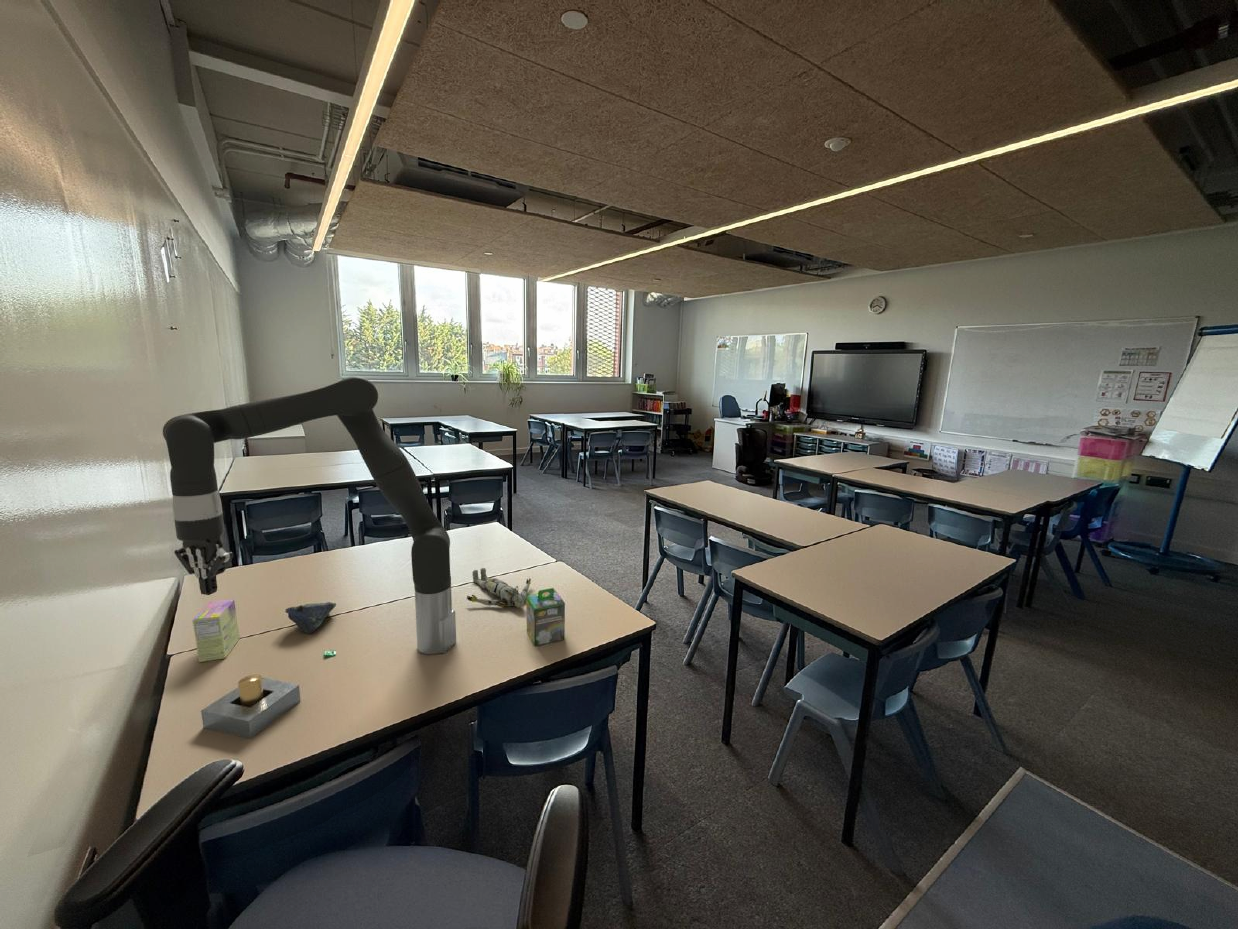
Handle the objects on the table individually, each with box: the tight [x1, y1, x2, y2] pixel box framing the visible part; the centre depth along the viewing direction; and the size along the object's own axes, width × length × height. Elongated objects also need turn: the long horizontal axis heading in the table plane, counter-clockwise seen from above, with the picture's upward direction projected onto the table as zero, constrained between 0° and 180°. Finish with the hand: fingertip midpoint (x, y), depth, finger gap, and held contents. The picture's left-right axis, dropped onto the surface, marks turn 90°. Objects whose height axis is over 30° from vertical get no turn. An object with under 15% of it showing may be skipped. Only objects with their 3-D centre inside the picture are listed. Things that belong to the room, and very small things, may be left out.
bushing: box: [237, 674, 264, 708], centre depth 105 cm, size 4×4×8 cm
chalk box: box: [525, 587, 566, 647], centre depth 139 cm, size 9×9×15 cm
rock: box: [285, 601, 337, 634], centre depth 142 cm, size 16×8×10 cm
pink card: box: [323, 649, 337, 659], centre depth 128 cm, size 3×3×1 cm
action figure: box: [466, 567, 532, 608], centre depth 165 cm, size 24×6×30 cm
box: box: [192, 598, 241, 663], centre depth 127 cm, size 10×6×12 cm, turn 21°
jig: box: [200, 676, 301, 739], centre depth 105 cm, size 12×12×4 cm
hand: (209, 593), depth 102 cm, fingers closed
